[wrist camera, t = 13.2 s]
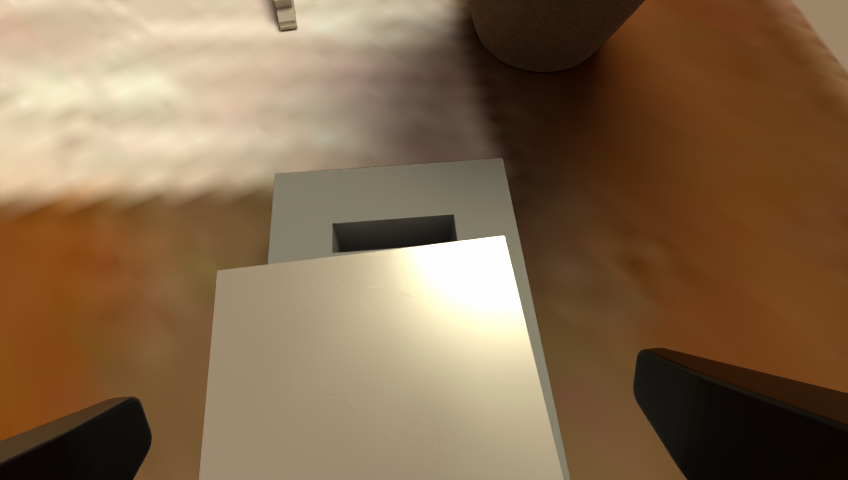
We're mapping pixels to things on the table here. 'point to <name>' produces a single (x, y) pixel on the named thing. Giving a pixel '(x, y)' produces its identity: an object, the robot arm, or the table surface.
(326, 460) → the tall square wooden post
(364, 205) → the bore block
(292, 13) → the caliper
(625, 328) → the table surface
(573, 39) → the plant pot
